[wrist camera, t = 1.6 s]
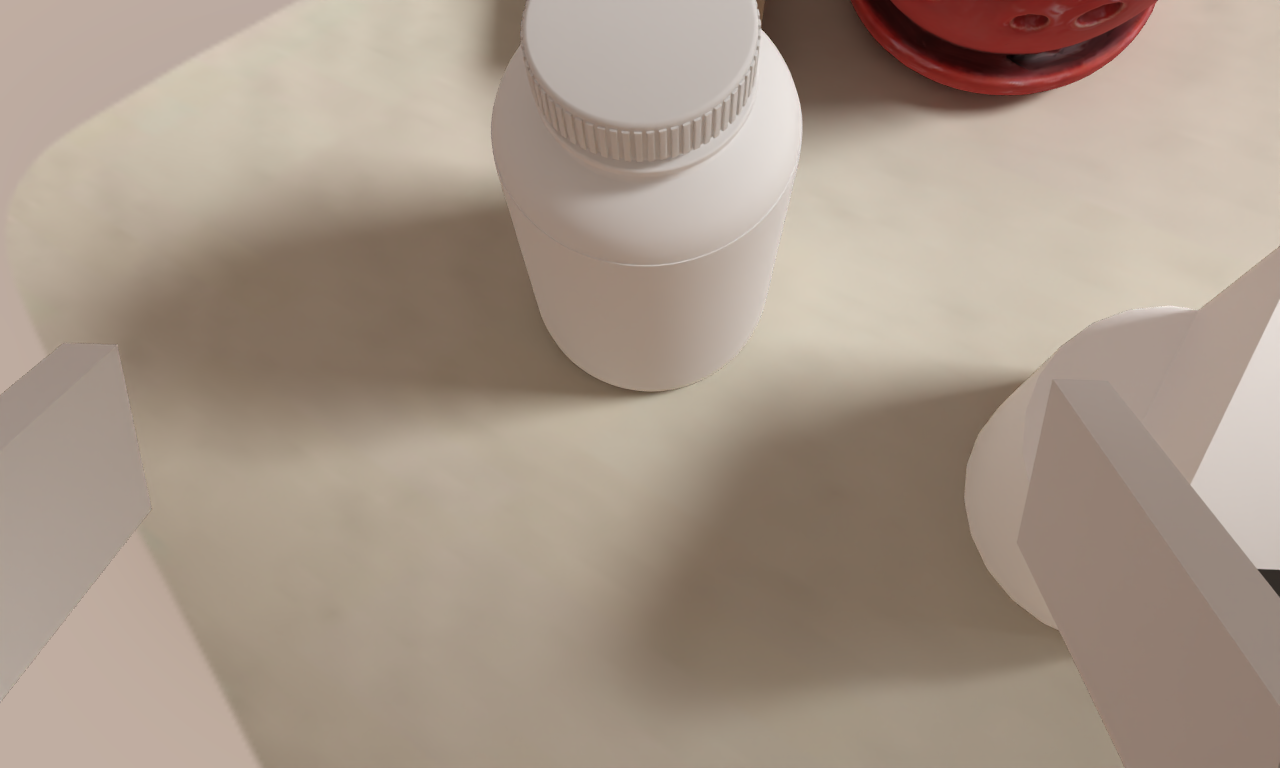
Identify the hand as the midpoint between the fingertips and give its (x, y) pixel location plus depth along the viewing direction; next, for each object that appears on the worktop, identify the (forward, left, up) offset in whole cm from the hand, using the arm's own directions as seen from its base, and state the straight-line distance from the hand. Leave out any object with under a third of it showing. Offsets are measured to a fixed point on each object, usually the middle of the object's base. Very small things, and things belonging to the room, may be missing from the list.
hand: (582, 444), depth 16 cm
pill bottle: (0, -11, -20) cm, 23 cm away
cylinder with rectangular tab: (-15, -4, -20) cm, 26 cm away
